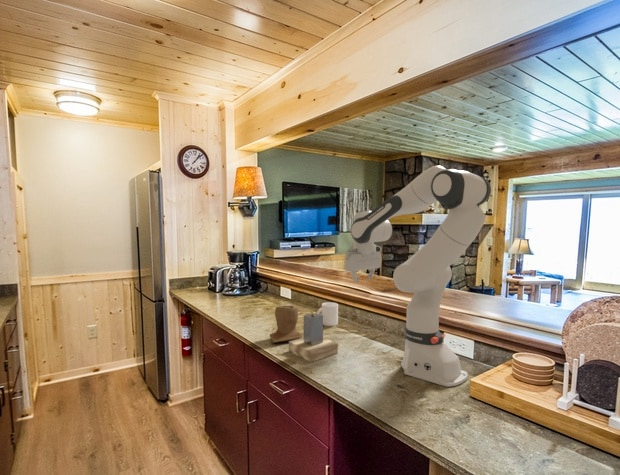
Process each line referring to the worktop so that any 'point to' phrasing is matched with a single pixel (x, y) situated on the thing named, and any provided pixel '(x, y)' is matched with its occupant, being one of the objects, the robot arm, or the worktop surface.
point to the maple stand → (313, 349)
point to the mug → (329, 313)
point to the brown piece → (285, 324)
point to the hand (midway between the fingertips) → (363, 279)
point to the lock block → (313, 329)
